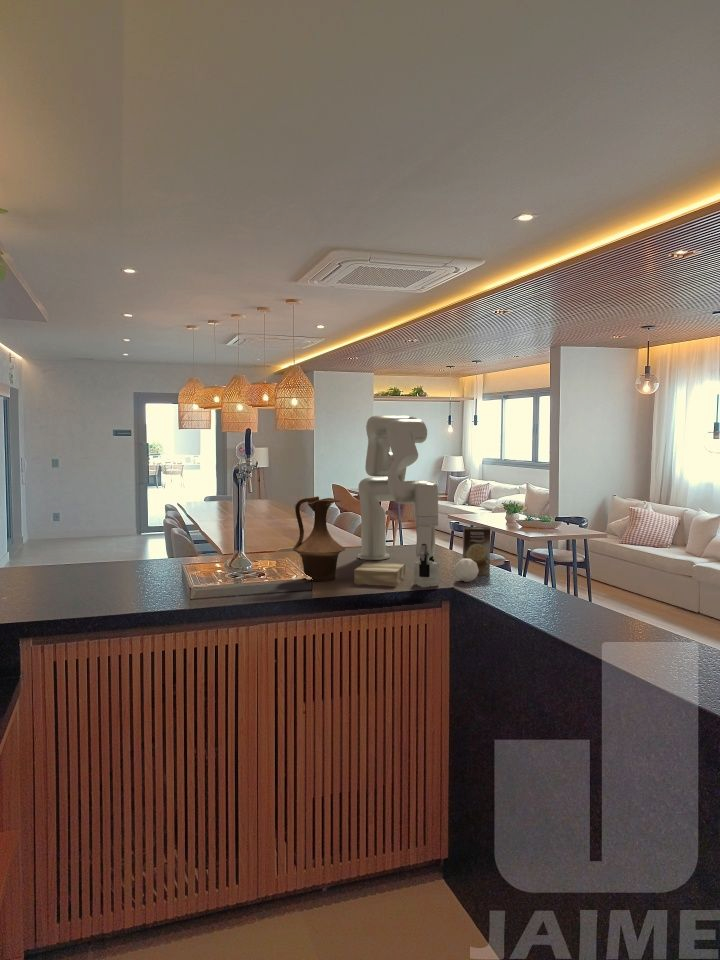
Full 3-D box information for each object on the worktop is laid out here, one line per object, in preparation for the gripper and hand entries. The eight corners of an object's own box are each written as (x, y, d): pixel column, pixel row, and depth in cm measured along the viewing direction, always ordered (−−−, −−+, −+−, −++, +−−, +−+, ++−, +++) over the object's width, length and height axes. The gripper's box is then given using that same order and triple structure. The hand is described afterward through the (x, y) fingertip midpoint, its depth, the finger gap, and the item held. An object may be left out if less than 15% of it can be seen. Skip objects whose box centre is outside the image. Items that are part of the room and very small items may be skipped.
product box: (430, 582, 225) (430, 560, 224) (439, 586, 219) (439, 563, 218) (413, 583, 222) (413, 561, 222) (422, 587, 217) (421, 564, 216)
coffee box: (463, 575, 235) (463, 528, 234) (462, 571, 241) (462, 526, 240) (490, 575, 234) (490, 529, 233) (488, 571, 240) (488, 526, 239)
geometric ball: (473, 589, 225) (485, 572, 221) (452, 582, 223) (464, 565, 219) (468, 574, 231) (480, 557, 228) (447, 567, 229) (460, 550, 225)
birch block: (365, 576, 236) (365, 562, 236) (405, 578, 233) (405, 563, 232) (354, 585, 223) (354, 570, 222) (396, 587, 219) (396, 572, 219)
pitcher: (296, 585, 222) (295, 499, 220) (290, 574, 239) (289, 494, 237) (349, 582, 226) (348, 497, 224) (340, 572, 242) (339, 493, 240)
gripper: (419, 517, 228) (419, 568, 229) (410, 524, 212) (410, 578, 213) (441, 518, 227) (442, 569, 228) (434, 524, 210) (434, 579, 211)
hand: (426, 573), depth 220 cm, fingers open, 9 cm apart
